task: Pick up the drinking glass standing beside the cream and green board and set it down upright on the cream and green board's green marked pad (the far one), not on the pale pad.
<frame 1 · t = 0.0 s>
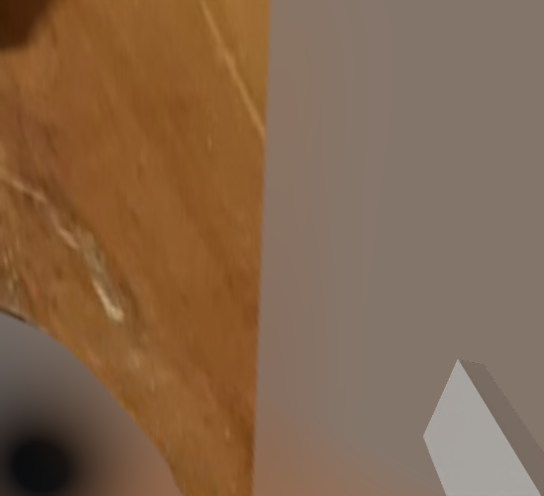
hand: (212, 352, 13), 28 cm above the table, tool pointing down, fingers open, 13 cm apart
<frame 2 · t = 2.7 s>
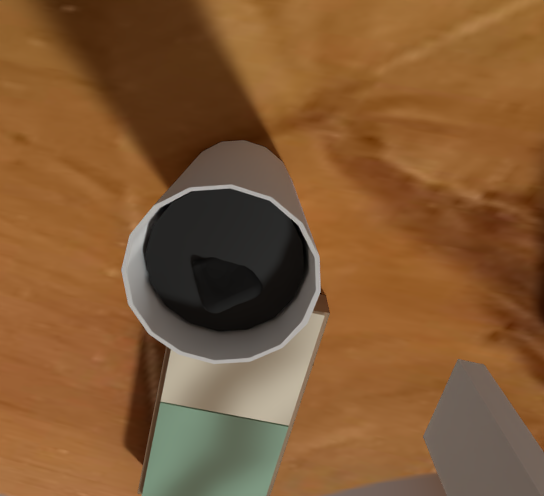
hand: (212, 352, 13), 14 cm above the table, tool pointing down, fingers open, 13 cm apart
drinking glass: (238, 194, 26), on the table
cream and green board: (228, 388, 31), on the table
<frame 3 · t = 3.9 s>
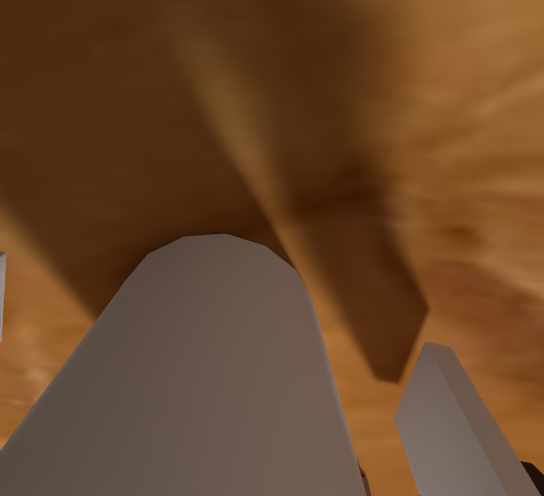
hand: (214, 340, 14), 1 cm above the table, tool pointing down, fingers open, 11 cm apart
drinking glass: (217, 323, 15), on the table
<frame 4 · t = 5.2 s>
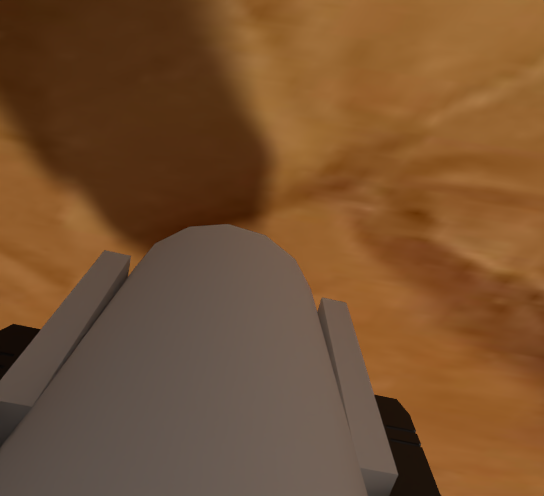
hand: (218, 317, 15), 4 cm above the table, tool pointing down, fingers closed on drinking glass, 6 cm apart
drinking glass: (220, 309, 16), point 3 cm above the table, touching gripper
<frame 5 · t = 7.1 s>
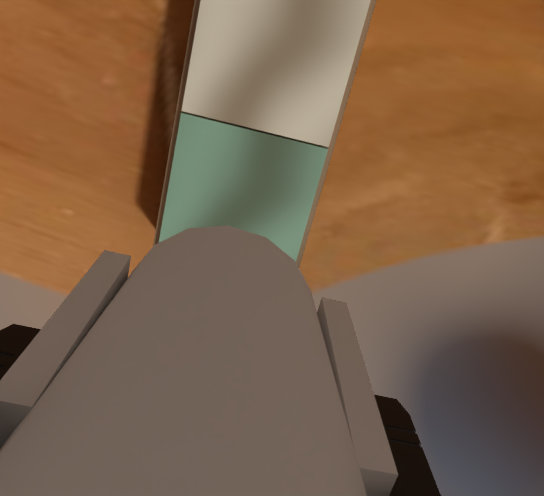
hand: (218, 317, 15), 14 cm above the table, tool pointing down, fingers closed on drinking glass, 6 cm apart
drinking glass: (219, 311, 16), point 14 cm above the table, touching gripper
cream and green board: (256, 123, 27), on the table
when the fingers open (3 cm above the table, at t = 9.2 s): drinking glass stays where it is, resting on cream and green board.
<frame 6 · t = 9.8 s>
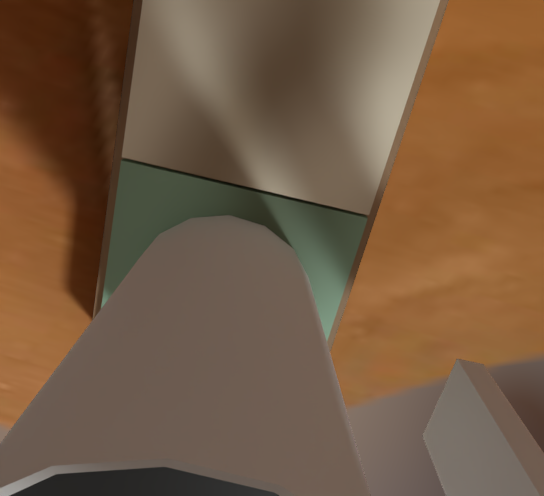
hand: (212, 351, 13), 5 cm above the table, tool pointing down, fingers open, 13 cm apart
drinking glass: (221, 297, 16), point 2 cm above the table, touching cream and green board
cream and green board: (250, 170, 17), on the table
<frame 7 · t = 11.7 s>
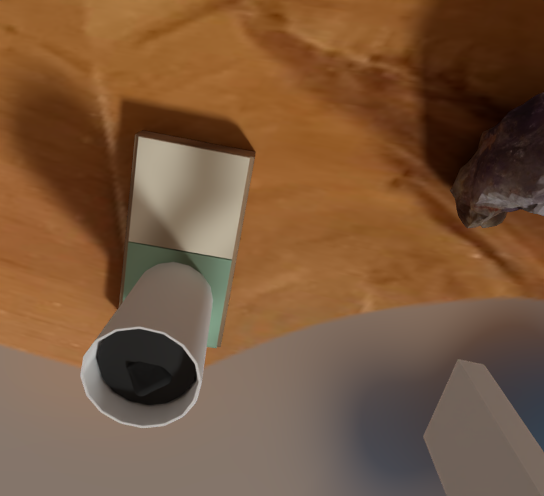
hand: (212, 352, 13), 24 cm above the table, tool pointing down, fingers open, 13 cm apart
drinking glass: (174, 296, 37), point 2 cm above the table, touching cream and green board
rock: (529, 144, 36), on the table
cream and green board: (185, 239, 38), on the table
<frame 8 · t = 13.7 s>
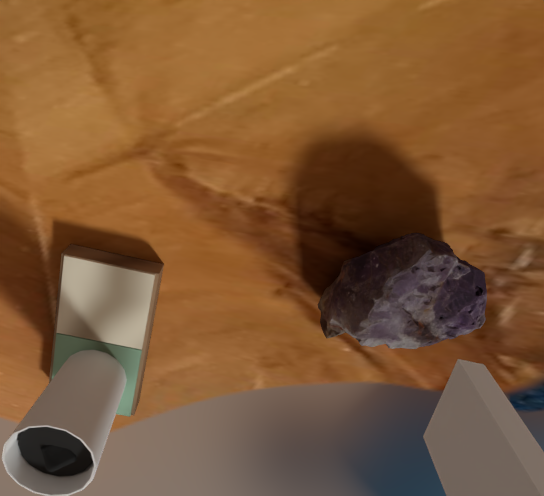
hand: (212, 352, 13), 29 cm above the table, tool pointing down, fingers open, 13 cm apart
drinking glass: (94, 375, 45), point 2 cm above the table, touching cream and green board
rock: (385, 268, 44), on the table
cream and green board: (107, 327, 46), on the table
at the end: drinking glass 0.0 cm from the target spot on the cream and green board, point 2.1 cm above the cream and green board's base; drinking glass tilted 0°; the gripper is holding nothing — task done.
